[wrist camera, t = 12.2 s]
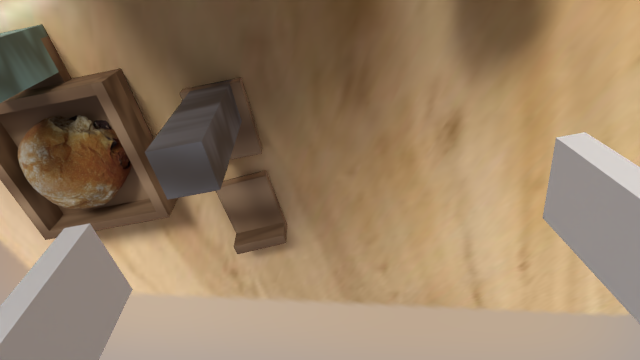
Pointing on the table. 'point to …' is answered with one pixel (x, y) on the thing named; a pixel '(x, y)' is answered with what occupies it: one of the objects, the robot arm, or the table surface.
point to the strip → (253, 212)
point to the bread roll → (74, 161)
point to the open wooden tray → (68, 100)
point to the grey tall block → (203, 139)
